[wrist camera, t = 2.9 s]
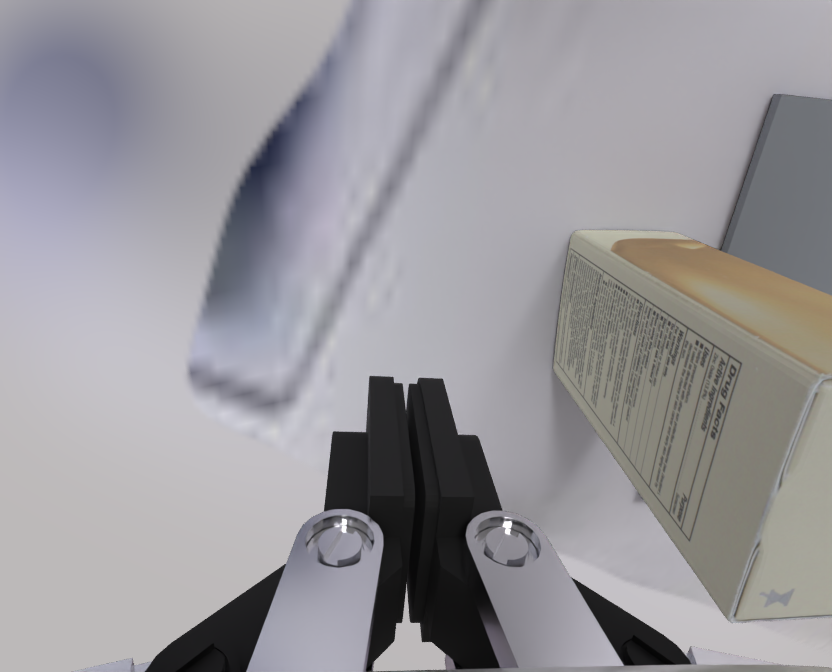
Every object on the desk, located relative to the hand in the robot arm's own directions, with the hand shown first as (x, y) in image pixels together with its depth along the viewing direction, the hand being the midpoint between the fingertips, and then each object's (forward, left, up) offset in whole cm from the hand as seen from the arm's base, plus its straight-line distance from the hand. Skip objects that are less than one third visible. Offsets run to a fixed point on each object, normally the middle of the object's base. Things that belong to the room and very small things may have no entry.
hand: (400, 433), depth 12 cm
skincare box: (0, +9, -10) cm, 13 cm away
